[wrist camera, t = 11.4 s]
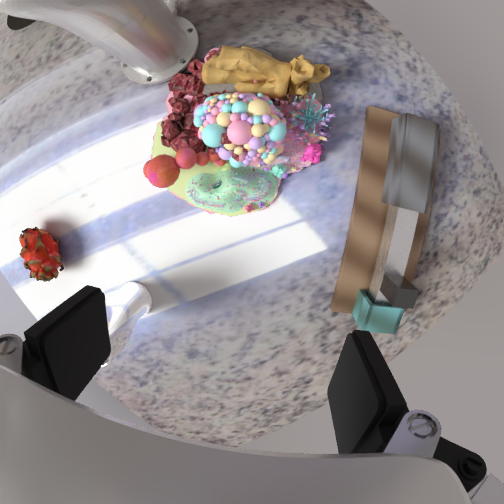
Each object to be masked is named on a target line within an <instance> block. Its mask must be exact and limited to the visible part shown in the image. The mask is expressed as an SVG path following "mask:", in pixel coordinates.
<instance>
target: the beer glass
mask: <svg viewBox="0 0 504 504" xmlns="http://www.w3.org/2000/svg"><path fill="white" fill-rule="evenodd" d="M105 303H106V313H107V322H108V330H109V337H110V344H111V353H110V356H109V357H108V359H107V360H106V361H105V362H104V364H103V365H102V366H101V367H100V368H103V367H106V366H108V365H109V364H110V362H111V361H112V360H113V359H114V358H115V357H116V356H117V355H118V354H119V353H120V352H121V350H122V349H123V348H124V347H125V345H126V344H127V342H128V341H129V339H130V337H131V335H132V333H133V331H134V328H135V326H136V324H137V322H138V320H139V319H140V318H141V317H142V316H144V315H145V314H147V313H148V312H149V310H150V309H151V306H152V299H151V296H150V293H149V292H148V290H147V289H146V288H145V287H144V286H143V285H141V284H139V283H137V282H128V283H125V284H124V285H123V286H122V287H121V289H120V290H119V292H118V293H117V294H116V295H115V296H113V297H111V298H109V299H107V300H105Z"/></svg>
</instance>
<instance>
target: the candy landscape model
mask: <svg viewBox="0 0 504 504" xmlns="http://www.w3.org/2000/svg"><path fill="white" fill-rule="evenodd" d="M187 70H188V71H190V72H192V73H193V75H191V74H190V73H186V74H184V73H178V74H177V75H176V76H175V77H174V78H173V79H172V80H171V81H170V82H169V84H168V86H169V90H170V91H171V93H170V94H169V96H168V98H167V99H166V105H167V109H168V115H167V116H165V117H163V120H162V121H161V122H159V123H158V124H157V129H156V132H155V135H154V136H153V141H154V143H153V147H152V154H151V160H149V161H147V163H146V164H145V165H144V168H143V172H144V175H145V177H147V178H148V179H149V181H150V183H152V184H153V185H154V186H156V187H159V188H165V187H166V188H168V190H169V191H170V193H172V194H174V195H175V196H177V197H178V198H180V199H184V200H186V201H187V203H188V204H190V205H192V206H196V207H199V208H201V209H203V210H204V211H206V212H208V213H210V214H212V213H220V214H221V215H228V216H230V217H232V216H237V215H242V214H246V213H250V212H255V211H259V210H263V209H265V208H266V206H267V205H269V204H271V203H272V202H273V200H274V199H275V197H276V196H277V194H278V187H279V185H280V184H281V183H280V181H281V179H282V178H283V179H284V178H286V177H287V176H288V173H293V172H298V171H300V170H301V169H303V168H302V167H308V166H310V165H311V163H312V162H313V163H318V162H319V161H320V155H321V154H322V151H321V145H322V146H323V144H322V143H320V144H318V142H319V140H322V141H329V140H328V139H327V138H326V137H330V135H327V134H330V133H329V132H327V133H325V132H321V131H320V130H321V129H322V128H321V127H323V126H326V127H328V125H326V123H325V122H326V121H328V122H330V119H331V117H336V116H335V114H330V115H328V114H329V113H327V114H326V118H324V117H325V115H324V116H323V113H325V112H327V111H328V110H329V109H327V108H328V107H330V108H331V105H330V104H326V105H325V106H324V107H323V108H324V109H323V110H322V104H321V103H322V99H323V95H322V91H321V87H320V83H319V82H321V81H322V80H324V79H326V78H327V77H328V76H329V75H330V68H329V67H328V66H326V65H325V64H313V65H312V63H311V60H305V59H304V57H303V55H301V56H299V57H297V58H294V59H293V60H292V61H291V62H290V63H288V62H282V61H279V60H277V59H275V58H273V56H272V54H271V53H270V52H267V51H265V50H263V49H261V48H259V47H256V48H250V47H247V46H242V47H241V48H237V47H231V46H226V45H222V47H221V48H220V49H218V48H213V49H211V50H210V51H209V52H208V54H207V55H206V57H205V58H204V63H203V62H202V61H200V60H199V59H198V58H193V59H192V61H191V62H190V63H189V66H188V69H187ZM322 116H323V118H322ZM330 128H332V127H329V128H328V129H330ZM324 130H326V128H324V129H323V131H324ZM321 135H323V136H321ZM324 136H326V137H324ZM322 149H325V148H322Z"/></svg>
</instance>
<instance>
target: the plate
mask: <svg viewBox="0 0 504 504" xmlns="http://www.w3.org/2000/svg"><path fill="white" fill-rule="evenodd" d="M35 21H36V20H32V19H26V18H20V17H15V16H10V15H8V18H7V25H8V27H9V28H10V29H13V30H19V29H22V28H24V27H26V26H28V25H30V24H32V23H33V22H35Z"/></svg>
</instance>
